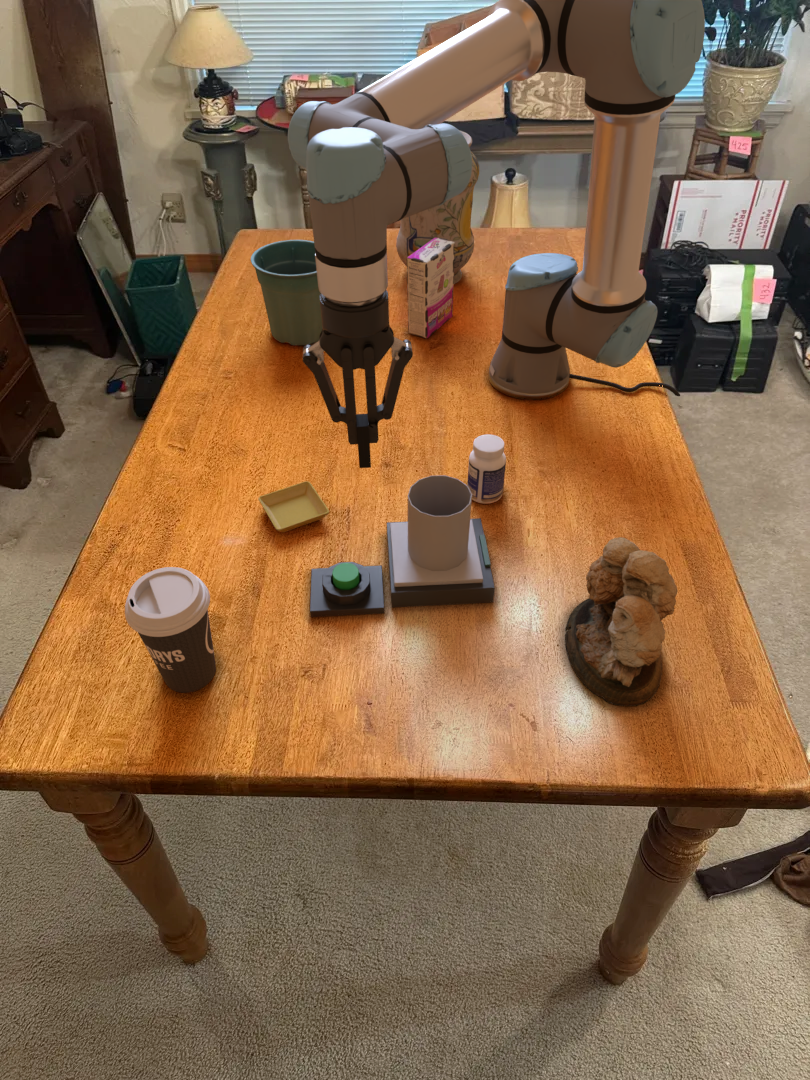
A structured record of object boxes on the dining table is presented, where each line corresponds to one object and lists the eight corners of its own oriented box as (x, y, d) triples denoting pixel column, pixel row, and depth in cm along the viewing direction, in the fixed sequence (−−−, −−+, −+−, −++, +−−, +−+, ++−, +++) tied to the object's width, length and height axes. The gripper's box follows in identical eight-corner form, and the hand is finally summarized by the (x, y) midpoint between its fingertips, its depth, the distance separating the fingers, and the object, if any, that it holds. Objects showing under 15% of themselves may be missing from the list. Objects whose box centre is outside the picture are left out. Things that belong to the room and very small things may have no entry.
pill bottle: (506, 486, 122) (512, 435, 115) (497, 508, 118) (503, 457, 111) (471, 478, 124) (475, 428, 117) (462, 500, 120) (465, 450, 113)
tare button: (359, 570, 105) (358, 562, 104) (359, 590, 103) (359, 581, 101) (333, 572, 105) (332, 563, 104) (333, 591, 103) (332, 582, 101)
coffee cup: (157, 644, 99) (128, 564, 89) (231, 639, 100) (210, 559, 89) (145, 706, 92) (112, 627, 82) (224, 700, 93) (202, 621, 83)
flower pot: (348, 316, 163) (344, 242, 152) (330, 355, 152) (323, 278, 140) (275, 310, 165) (265, 236, 154) (251, 348, 154) (238, 271, 142)
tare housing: (382, 570, 109) (381, 556, 107) (384, 613, 103) (384, 598, 101) (312, 574, 108) (310, 559, 106) (310, 617, 103) (308, 602, 100)
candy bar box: (433, 311, 165) (434, 236, 153) (453, 317, 163) (456, 241, 151) (405, 333, 158) (405, 256, 146) (426, 339, 156) (427, 262, 145)
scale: (479, 532, 114) (481, 513, 112) (493, 602, 104) (495, 583, 102) (386, 536, 114) (386, 518, 111) (391, 607, 104) (391, 588, 101)
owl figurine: (549, 601, 104) (567, 508, 93) (632, 594, 105) (660, 501, 94) (585, 712, 92) (611, 621, 80) (679, 703, 92) (719, 612, 81)
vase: (474, 294, 170) (484, 150, 150) (395, 294, 171) (393, 150, 150) (470, 260, 183) (478, 123, 162) (396, 259, 184) (395, 123, 163)
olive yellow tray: (278, 540, 113) (276, 530, 112) (258, 506, 119) (256, 496, 117) (331, 522, 116) (330, 512, 115) (310, 489, 122) (308, 479, 120)
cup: (462, 575, 103) (466, 520, 96) (403, 566, 104) (402, 512, 97) (471, 533, 109) (475, 479, 102) (414, 525, 110) (415, 471, 103)
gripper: (410, 272, 85) (412, 441, 102) (294, 277, 85) (315, 446, 101) (416, 304, 80) (417, 476, 96) (292, 310, 79) (314, 482, 96)
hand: (364, 461), depth 99 cm, fingers closed
